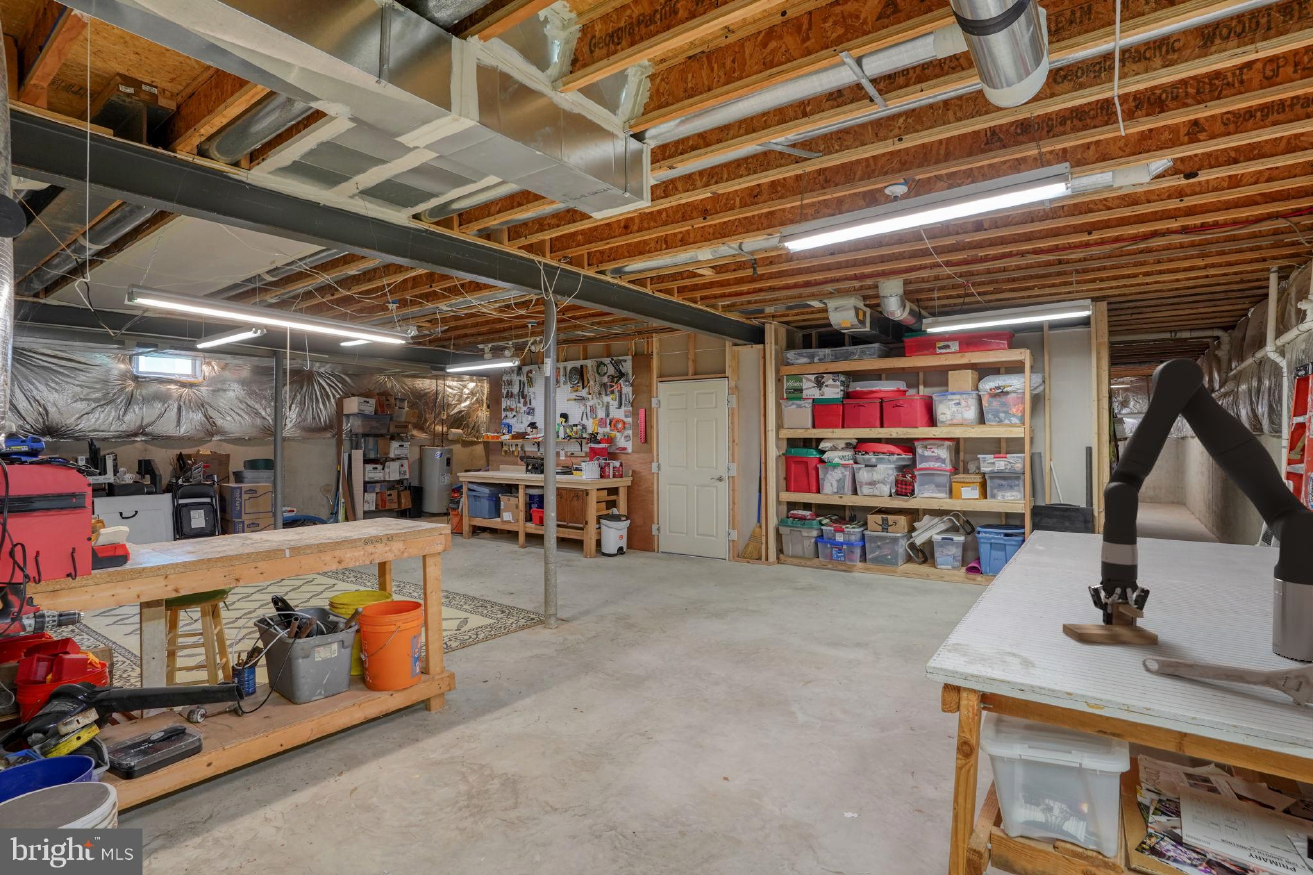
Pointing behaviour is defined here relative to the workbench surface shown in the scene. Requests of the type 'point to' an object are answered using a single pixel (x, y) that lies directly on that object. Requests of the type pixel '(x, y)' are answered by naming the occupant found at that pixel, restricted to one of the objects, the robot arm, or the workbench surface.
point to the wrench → (1244, 676)
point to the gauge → (1125, 614)
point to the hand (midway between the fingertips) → (1118, 626)
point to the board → (1110, 633)
